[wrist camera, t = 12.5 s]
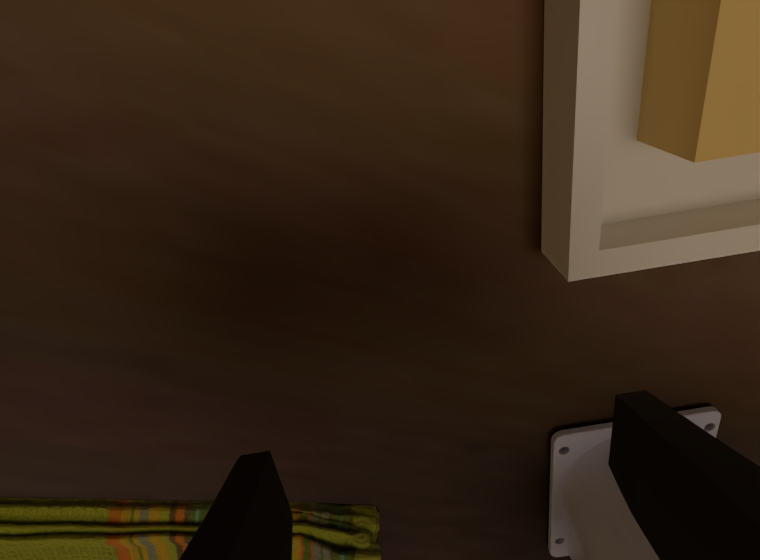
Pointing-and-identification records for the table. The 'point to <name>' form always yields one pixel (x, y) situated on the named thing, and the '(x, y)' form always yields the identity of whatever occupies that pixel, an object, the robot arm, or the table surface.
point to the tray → (625, 158)
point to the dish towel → (166, 529)
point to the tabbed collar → (702, 79)
